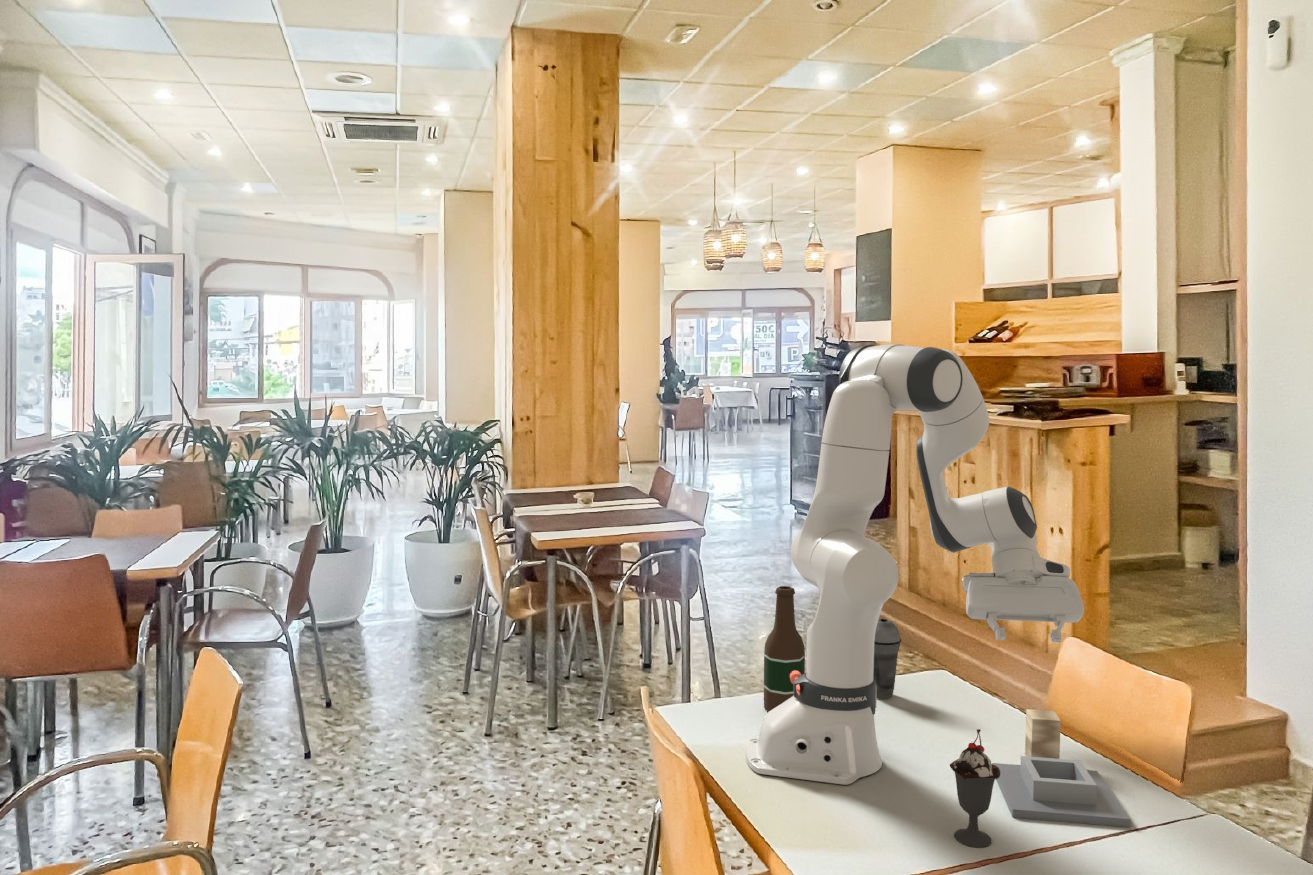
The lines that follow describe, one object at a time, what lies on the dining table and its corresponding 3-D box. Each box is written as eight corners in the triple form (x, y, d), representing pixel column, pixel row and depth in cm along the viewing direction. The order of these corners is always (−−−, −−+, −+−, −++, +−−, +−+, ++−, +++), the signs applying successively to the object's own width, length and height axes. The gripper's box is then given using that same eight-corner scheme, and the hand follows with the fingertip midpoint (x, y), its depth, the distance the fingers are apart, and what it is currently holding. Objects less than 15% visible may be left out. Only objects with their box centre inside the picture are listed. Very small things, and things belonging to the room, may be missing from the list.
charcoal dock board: (1012, 817, 131) (1013, 789, 131) (992, 769, 147) (992, 745, 147) (1130, 827, 128) (1131, 798, 128) (1096, 777, 144) (1097, 752, 144)
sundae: (986, 825, 129) (989, 723, 128) (1006, 850, 122) (1009, 743, 121) (940, 826, 128) (943, 724, 127) (958, 851, 122) (960, 743, 121)
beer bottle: (782, 699, 179) (783, 580, 177) (812, 711, 173) (814, 588, 171) (755, 709, 174) (756, 586, 172) (785, 720, 168) (786, 594, 166)
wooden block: (1030, 765, 149) (1032, 718, 148) (1024, 754, 153) (1026, 709, 152) (1059, 768, 148) (1060, 720, 147) (1052, 756, 152) (1053, 710, 152)
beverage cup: (901, 703, 177) (903, 603, 176) (863, 700, 178) (865, 601, 177) (898, 690, 184) (900, 594, 183) (862, 687, 186) (864, 592, 184)
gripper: (962, 563, 170) (970, 628, 161) (1078, 566, 166) (1092, 633, 157) (959, 581, 175) (966, 645, 166) (1071, 584, 171) (1084, 650, 162)
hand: (1028, 639), depth 161 cm, fingers open, 8 cm apart
